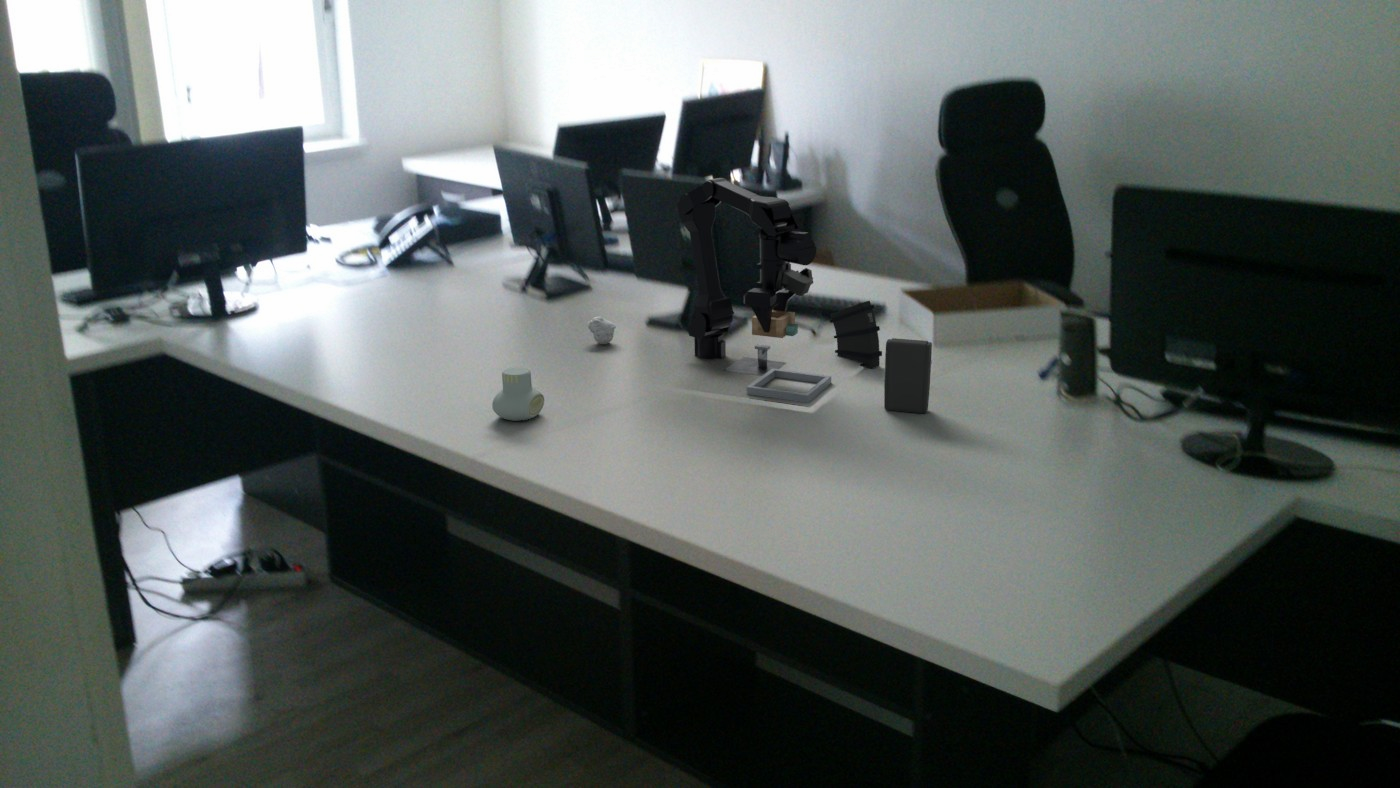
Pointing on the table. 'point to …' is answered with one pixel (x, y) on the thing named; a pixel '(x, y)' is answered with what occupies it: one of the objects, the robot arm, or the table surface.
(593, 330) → the grey lumpy chunk
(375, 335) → the table surface
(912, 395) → the card reader
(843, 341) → the magazine
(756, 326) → the light brown open box
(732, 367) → the stake stand
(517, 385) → the air freshener
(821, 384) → the tray
